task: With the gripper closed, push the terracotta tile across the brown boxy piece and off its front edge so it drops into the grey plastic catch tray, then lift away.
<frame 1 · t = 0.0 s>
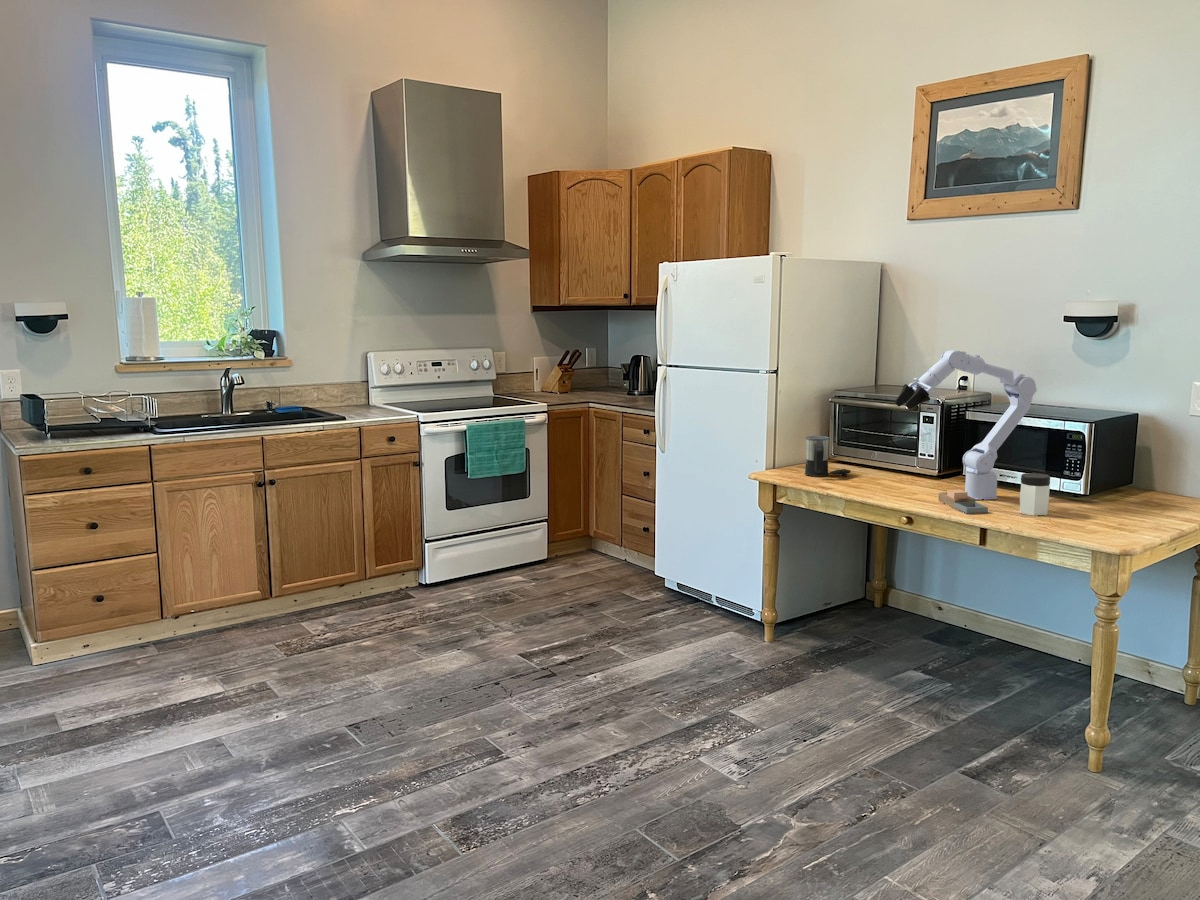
hand: (901, 405, 285), 32 cm above the table, tool tilted 50°, fingers open, 7 cm apart
milk frother: (827, 476, 335), on the table
tray: (970, 510, 276), on the table
brown boxy piece: (956, 504, 284), on the table
jar: (1033, 513, 272), on the table
tile: (957, 497, 282), point 3 cm above the table, touching brown boxy piece
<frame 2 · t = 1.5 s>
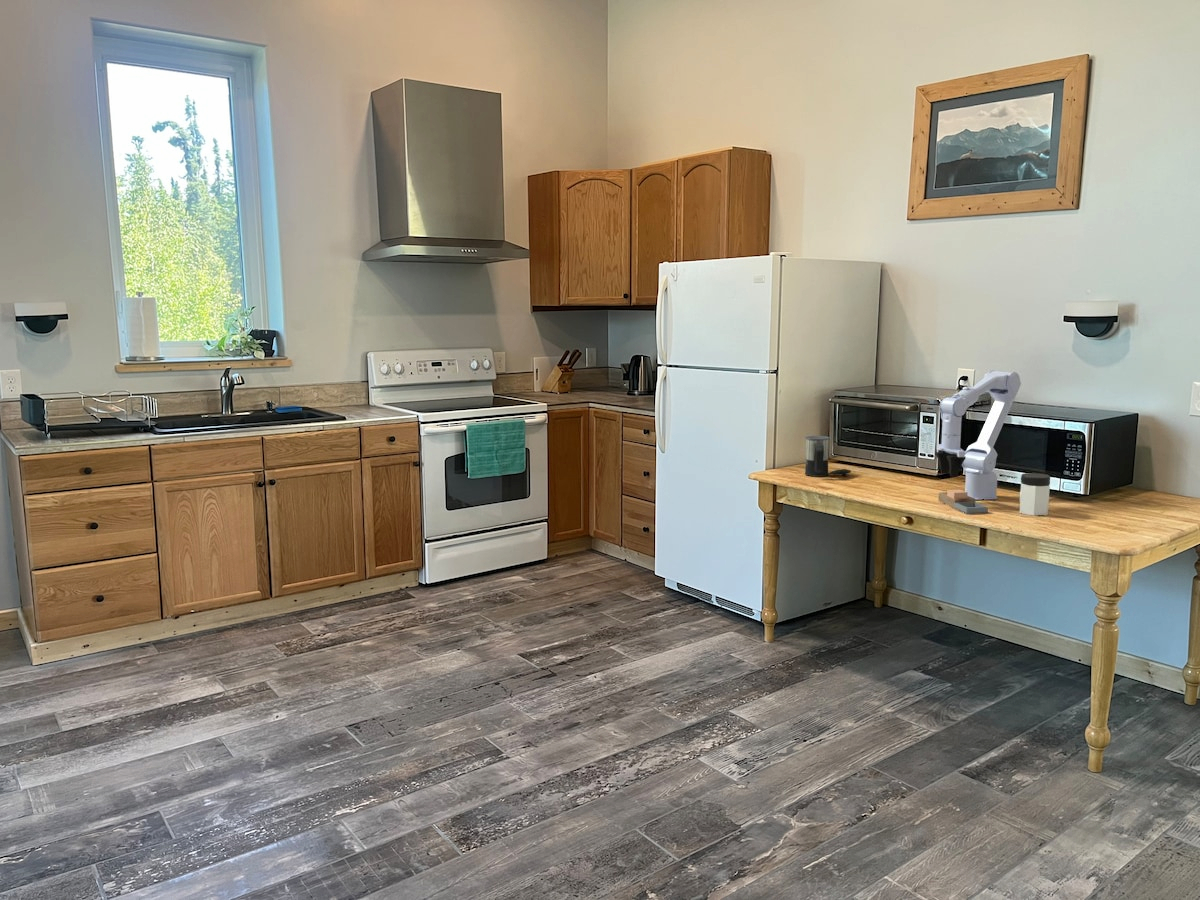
hand: (949, 475, 285), 9 cm above the table, tool pointing down, fingers open, 5 cm apart
nothing on the table moved.
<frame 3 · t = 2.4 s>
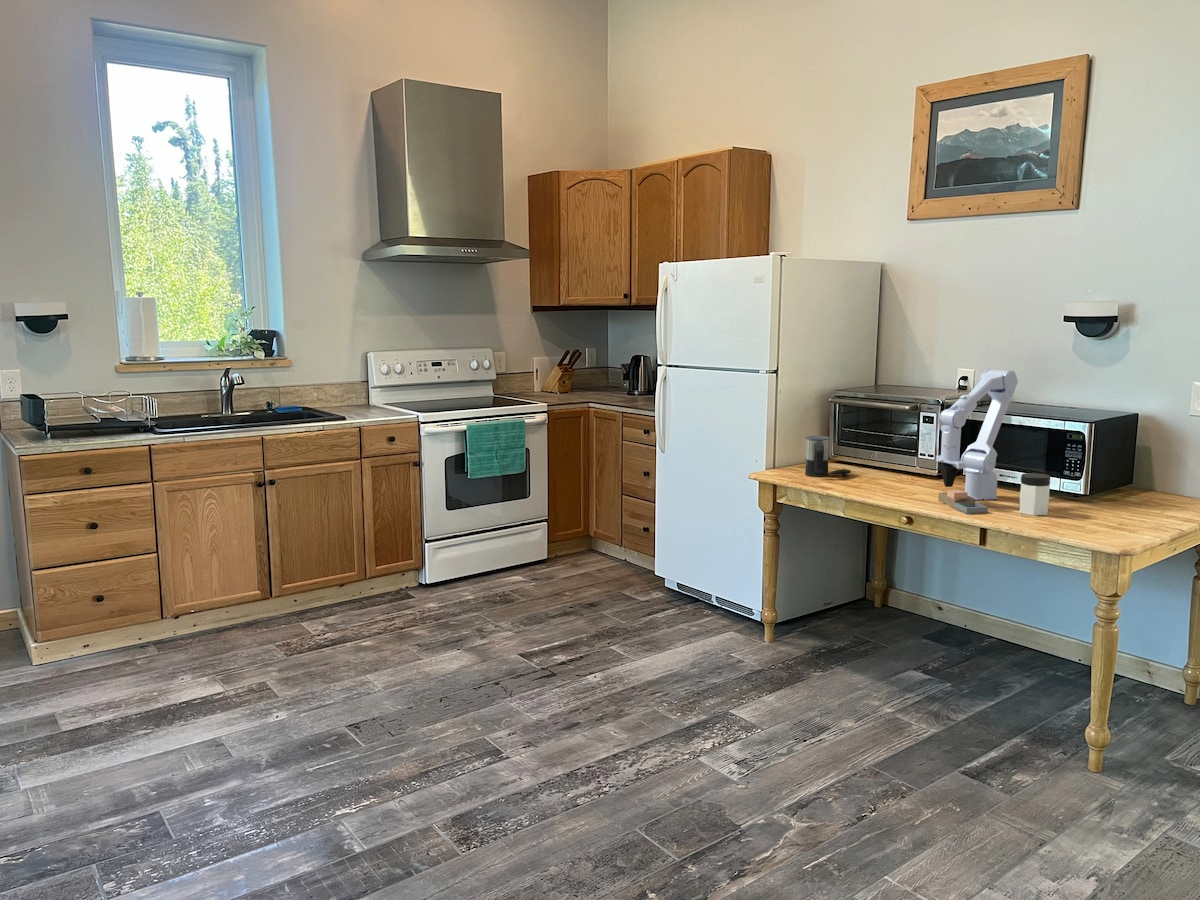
hand: (948, 486, 286), 6 cm above the table, tool pointing down, fingers closed
nothing on the table moved.
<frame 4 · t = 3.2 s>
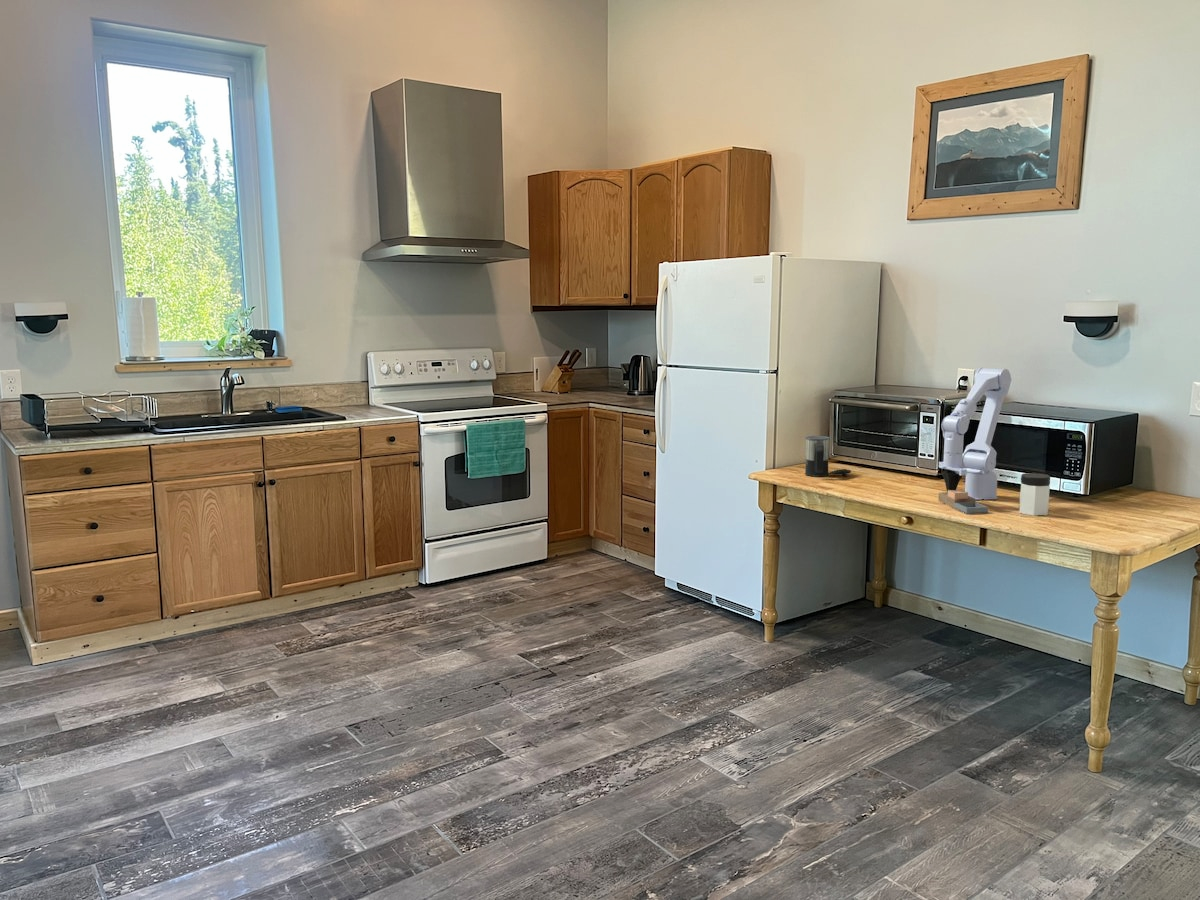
hand: (951, 493, 284), 4 cm above the table, tool pointing down, fingers closed
tile: (957, 497, 281), point 3 cm above the table, touching gripper, brown boxy piece
everything else where it was.
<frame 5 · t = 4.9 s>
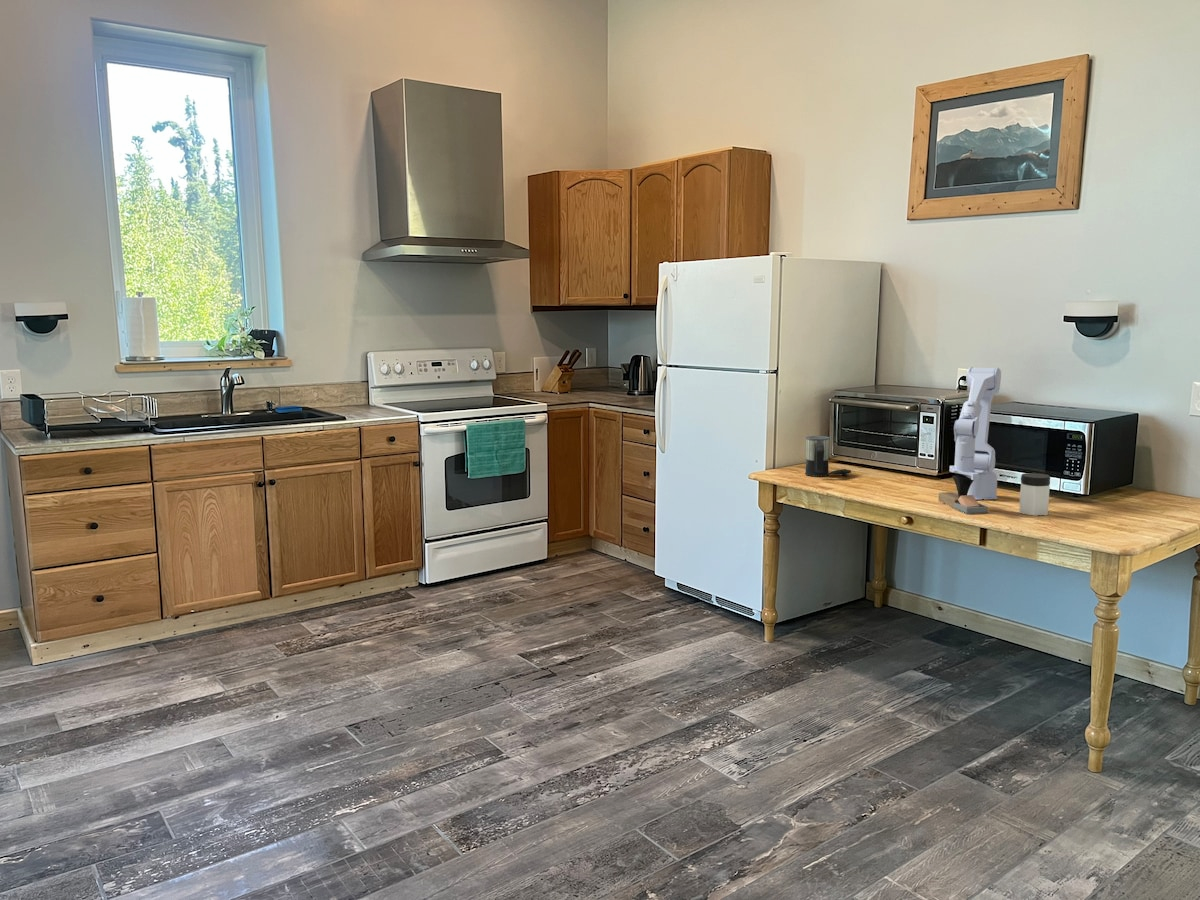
hand: (962, 497, 277), 4 cm above the table, tool pointing down, fingers closed, pressing on tile
tile: (967, 504, 276), point 2 cm above the table, tilted 39°, touching gripper, tray
everything else where it was.
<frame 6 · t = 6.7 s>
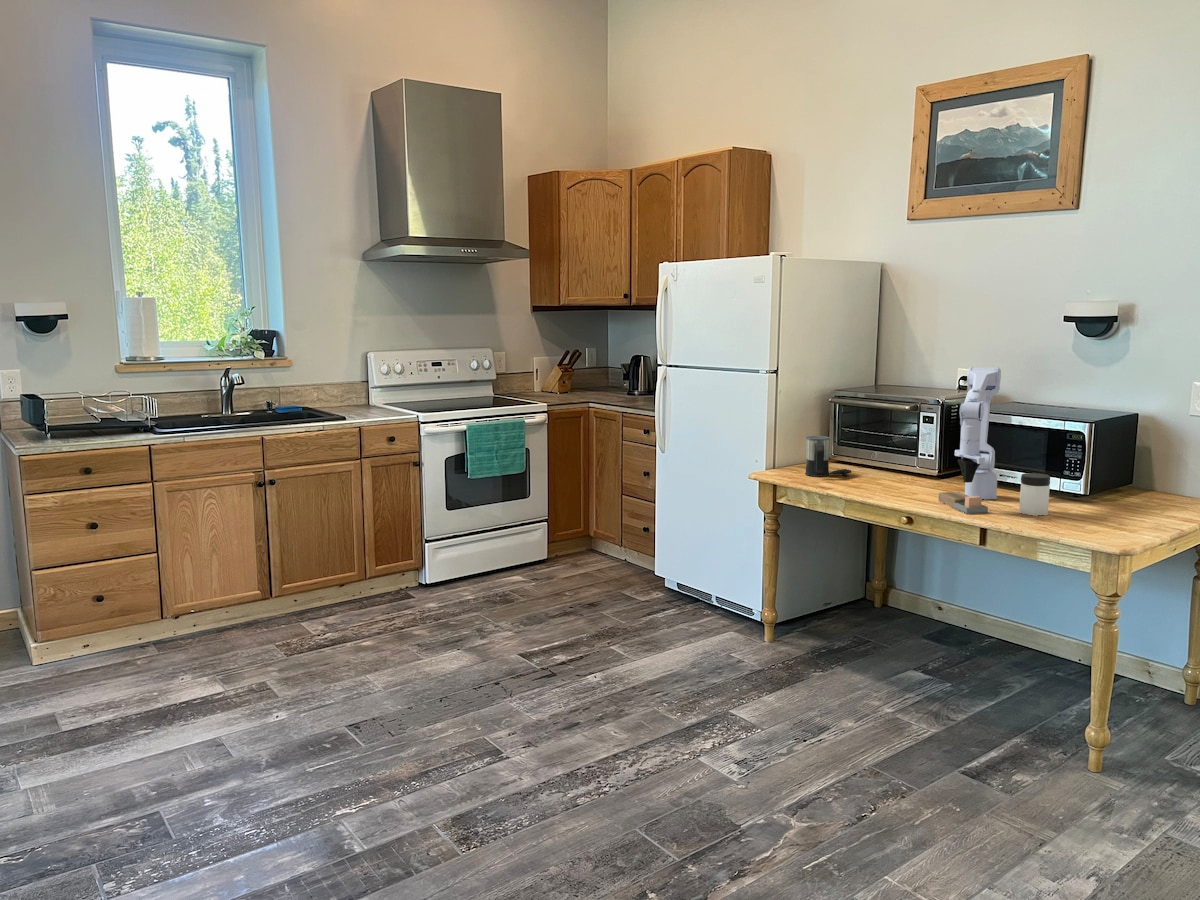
hand: (967, 482, 275), 9 cm above the table, tool pointing down, fingers closed
tile: (971, 503, 275), point 3 cm above the table, tilted 90°, touching tray
everything else where it was.
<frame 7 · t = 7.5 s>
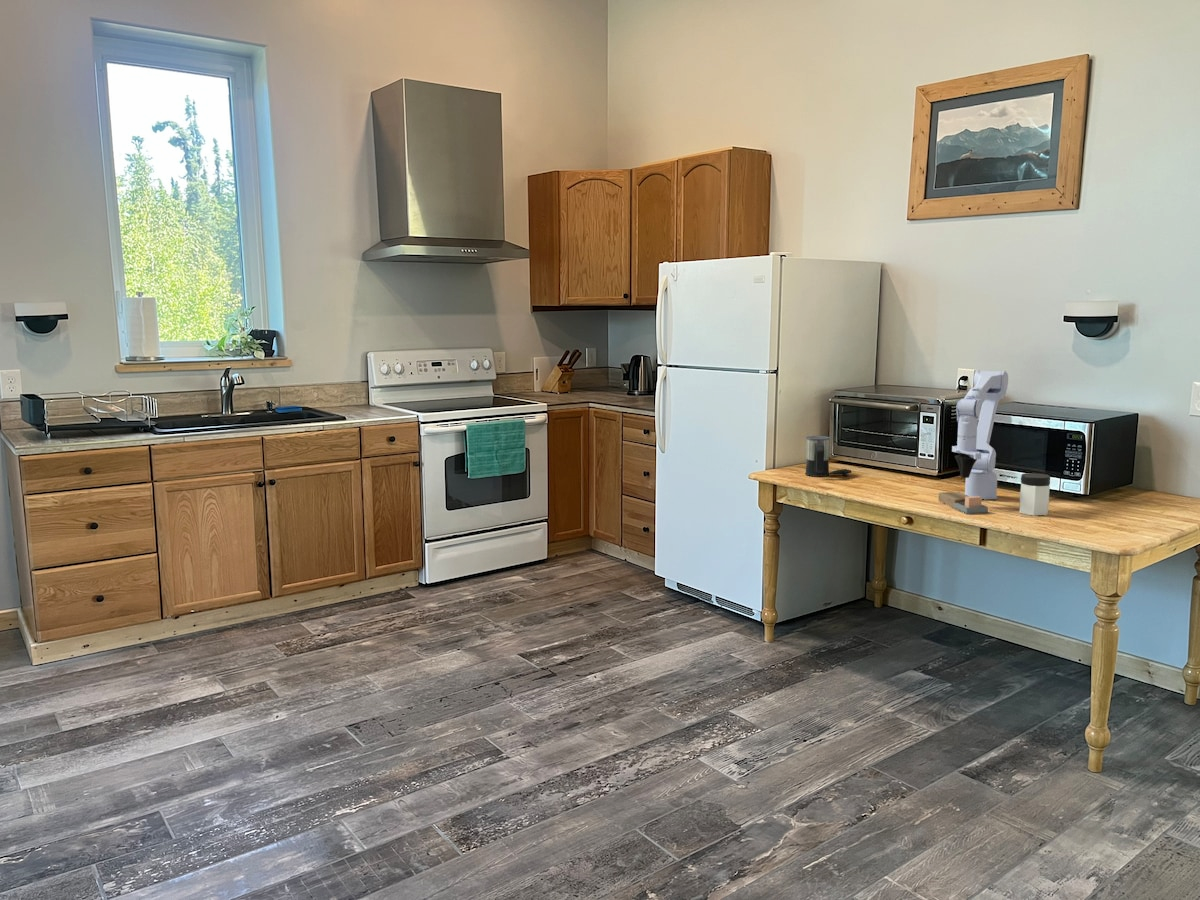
hand: (964, 477, 281), 9 cm above the table, tool pointing down, fingers closed
nothing on the table moved.
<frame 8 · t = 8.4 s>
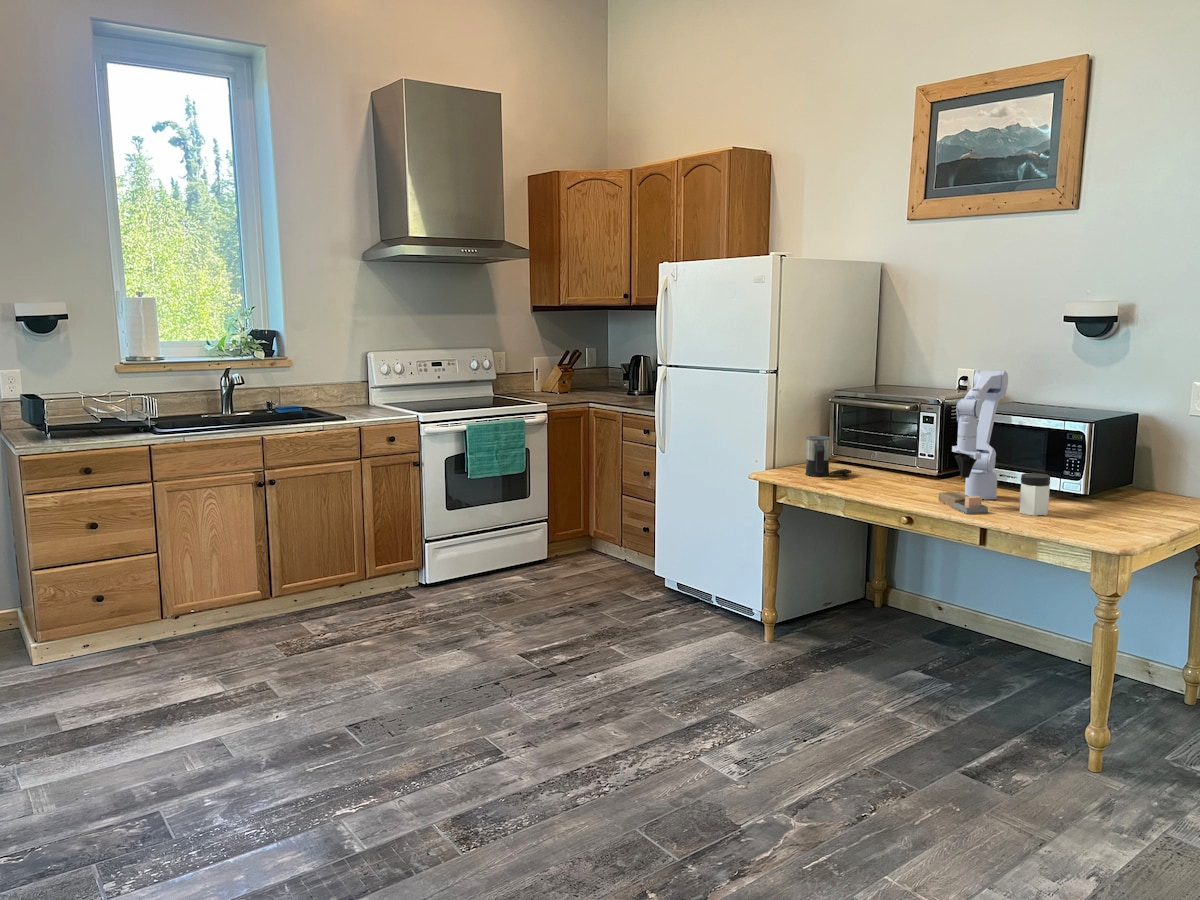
hand: (964, 477, 281), 9 cm above the table, tool pointing down, fingers closed
nothing on the table moved.
at the end: tile 0.6 cm off-centre on the tray, point 2.6 cm above the tray's base; tile touching tray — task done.
